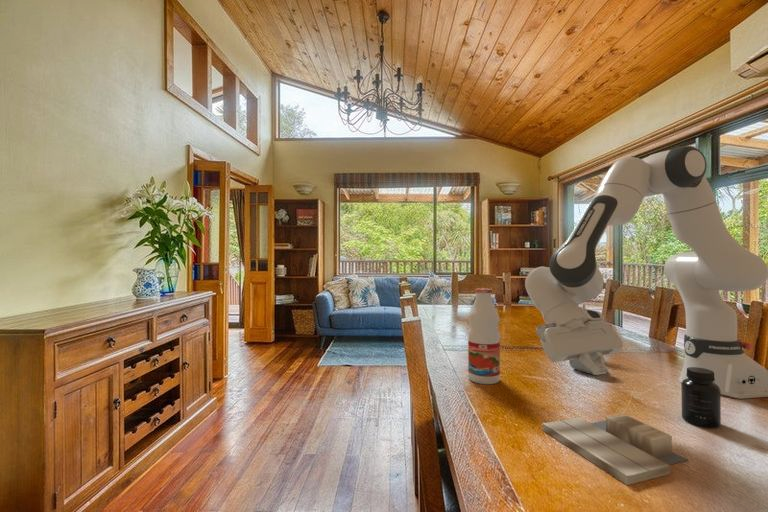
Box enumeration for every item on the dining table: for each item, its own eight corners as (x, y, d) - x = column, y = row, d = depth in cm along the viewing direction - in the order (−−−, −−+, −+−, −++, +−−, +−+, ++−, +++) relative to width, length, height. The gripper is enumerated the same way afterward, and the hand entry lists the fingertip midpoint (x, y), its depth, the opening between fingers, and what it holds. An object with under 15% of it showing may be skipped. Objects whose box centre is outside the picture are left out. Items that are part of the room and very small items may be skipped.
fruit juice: (501, 376, 115) (501, 287, 115) (497, 386, 107) (497, 290, 106) (471, 372, 119) (471, 286, 119) (465, 382, 110) (465, 289, 110)
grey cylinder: (593, 377, 114) (593, 353, 114) (568, 370, 121) (568, 347, 121) (612, 372, 119) (612, 348, 119) (587, 365, 126) (587, 343, 126)
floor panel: (542, 430, 81) (542, 423, 81) (578, 423, 84) (578, 416, 84) (627, 485, 61) (627, 475, 61) (670, 474, 64) (670, 465, 64)
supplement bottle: (681, 412, 89) (681, 363, 89) (719, 421, 84) (719, 369, 84) (681, 423, 83) (681, 370, 83) (721, 432, 79) (722, 377, 79)
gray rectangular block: (606, 417, 78) (652, 440, 69) (623, 414, 80) (671, 435, 70) (606, 433, 79) (652, 458, 69) (623, 430, 80) (671, 453, 70)
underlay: (584, 425, 83) (583, 424, 83) (607, 420, 85) (607, 420, 85) (660, 467, 66) (660, 466, 66) (688, 460, 69) (688, 459, 69)
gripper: (539, 318, 86) (573, 371, 77) (605, 311, 93) (643, 360, 84) (526, 333, 91) (557, 385, 82) (590, 326, 97) (625, 374, 88)
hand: (601, 373), depth 83 cm, fingers closed
